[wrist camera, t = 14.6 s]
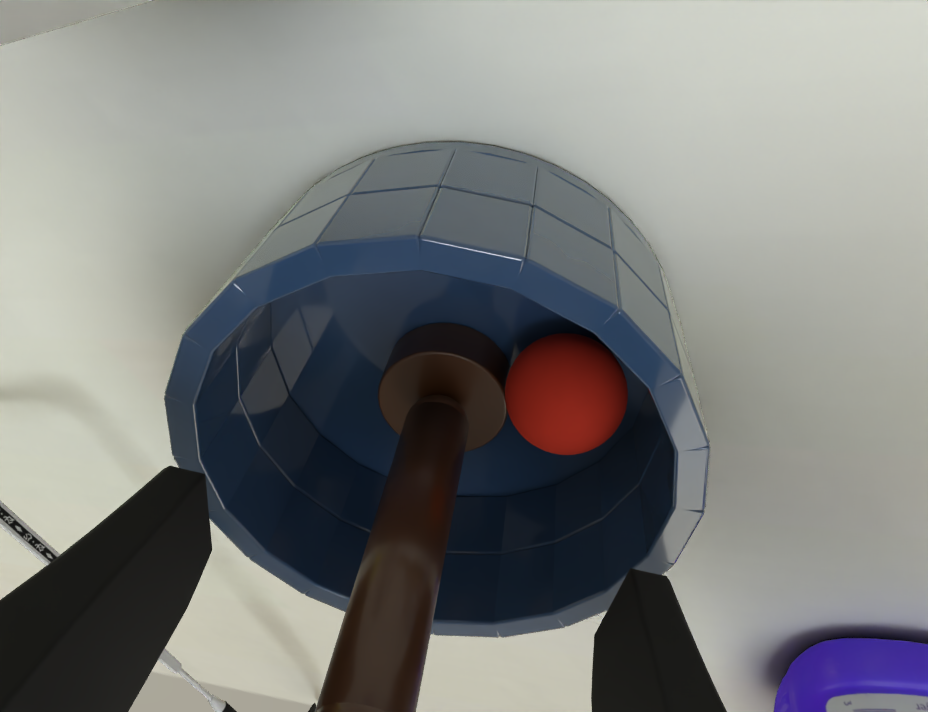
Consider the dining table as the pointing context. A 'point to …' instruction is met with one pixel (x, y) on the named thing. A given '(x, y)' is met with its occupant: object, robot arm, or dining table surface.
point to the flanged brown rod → (414, 512)
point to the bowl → (366, 355)
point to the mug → (51, 15)
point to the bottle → (857, 677)
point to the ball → (566, 394)
